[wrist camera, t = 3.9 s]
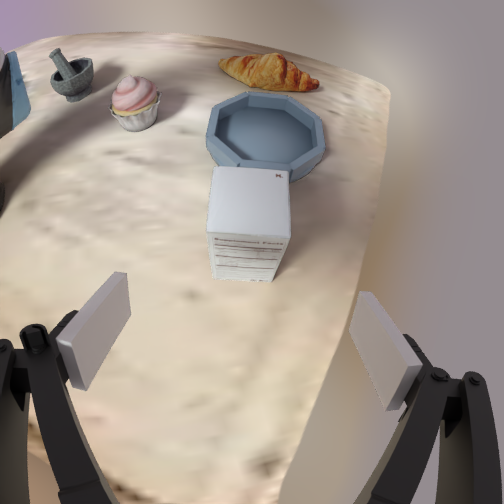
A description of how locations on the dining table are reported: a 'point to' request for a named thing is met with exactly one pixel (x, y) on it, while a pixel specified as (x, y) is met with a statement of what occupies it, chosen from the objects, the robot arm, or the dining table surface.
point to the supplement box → (247, 222)
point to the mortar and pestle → (72, 76)
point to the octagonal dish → (265, 134)
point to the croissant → (268, 72)
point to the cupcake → (135, 103)
